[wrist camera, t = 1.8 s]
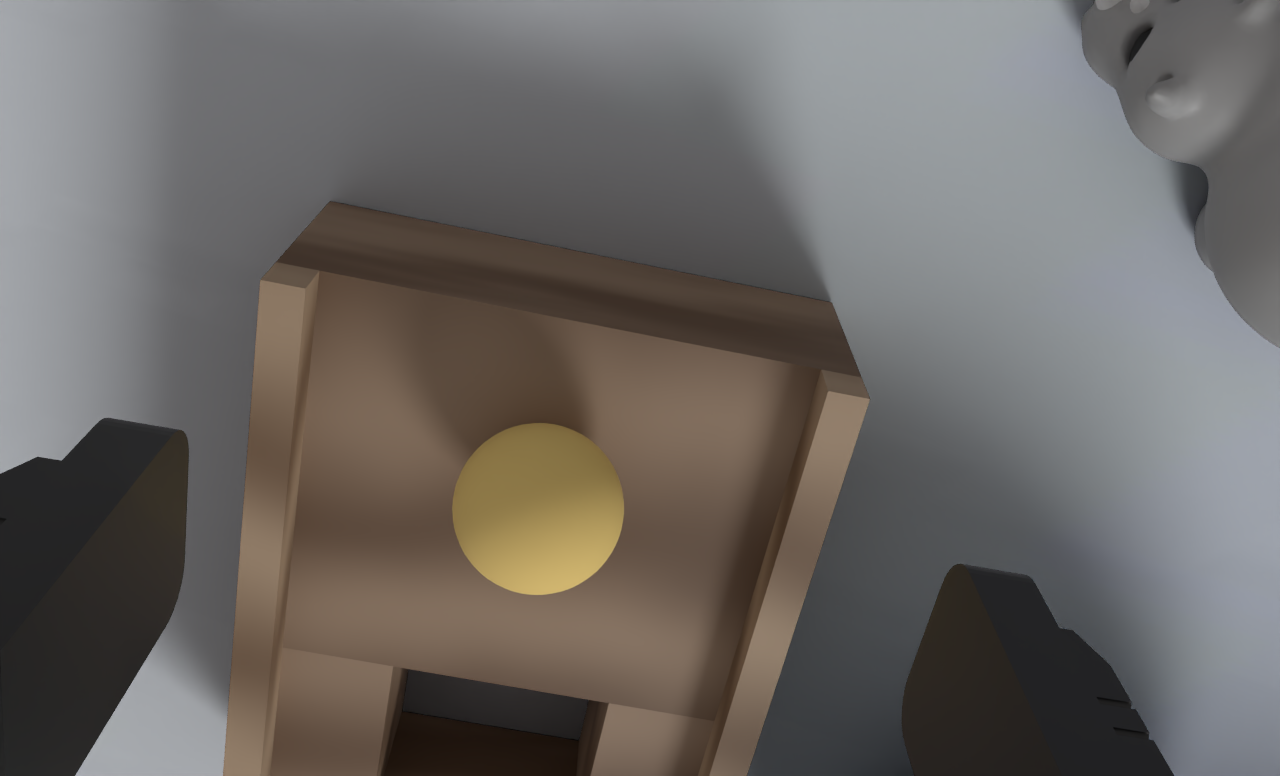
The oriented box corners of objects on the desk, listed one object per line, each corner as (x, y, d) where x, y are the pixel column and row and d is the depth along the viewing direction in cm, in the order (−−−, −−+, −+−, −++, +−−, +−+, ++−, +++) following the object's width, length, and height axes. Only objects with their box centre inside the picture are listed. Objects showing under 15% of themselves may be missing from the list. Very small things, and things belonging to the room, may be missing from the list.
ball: (478, 380, 28) (452, 460, 24) (640, 411, 28) (639, 495, 25) (455, 519, 30) (428, 613, 26) (608, 547, 30) (603, 643, 26)
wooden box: (329, 201, 31) (260, 279, 26) (831, 302, 32) (870, 399, 27) (274, 759, 40) (213, 910, 34) (675, 824, 41) (679, 981, 35)
